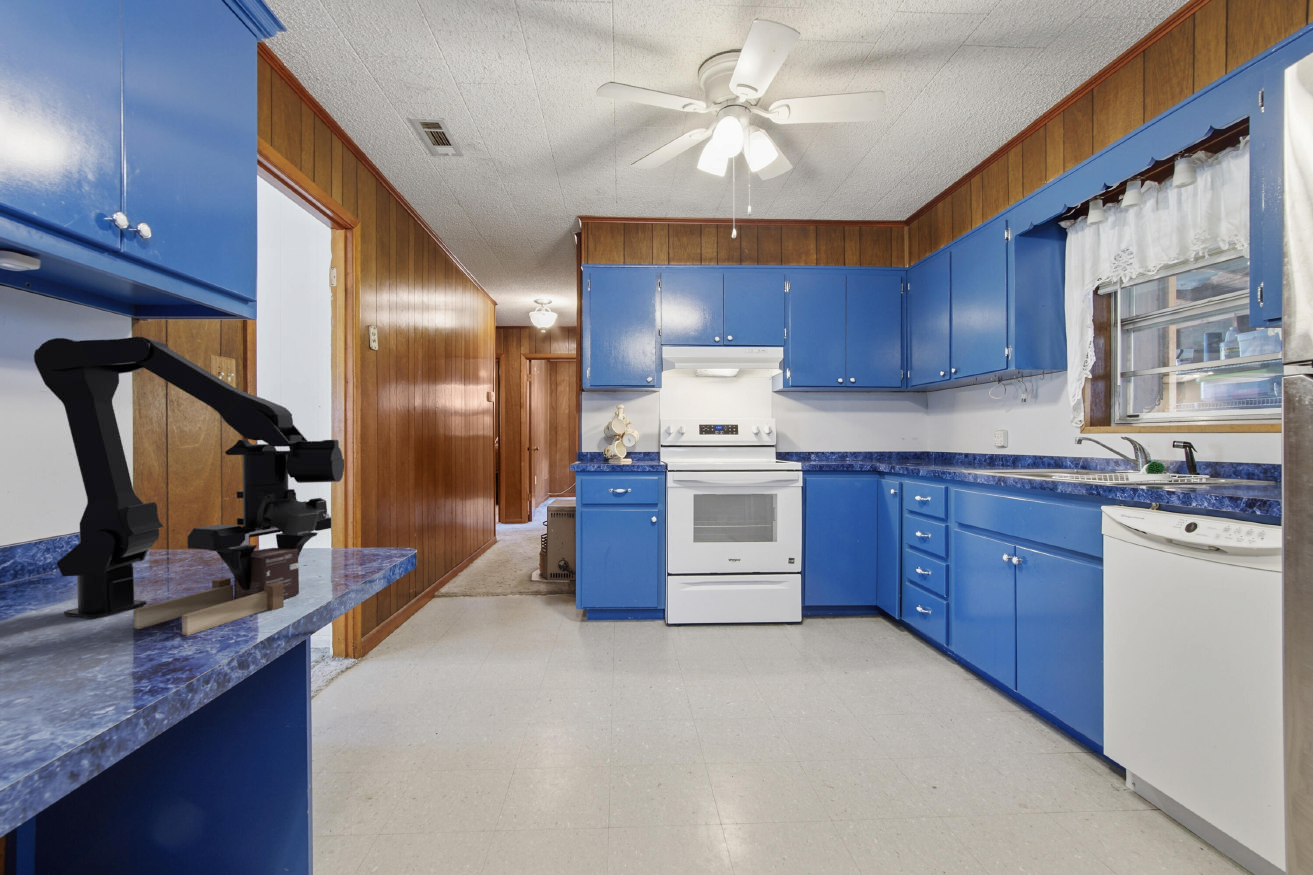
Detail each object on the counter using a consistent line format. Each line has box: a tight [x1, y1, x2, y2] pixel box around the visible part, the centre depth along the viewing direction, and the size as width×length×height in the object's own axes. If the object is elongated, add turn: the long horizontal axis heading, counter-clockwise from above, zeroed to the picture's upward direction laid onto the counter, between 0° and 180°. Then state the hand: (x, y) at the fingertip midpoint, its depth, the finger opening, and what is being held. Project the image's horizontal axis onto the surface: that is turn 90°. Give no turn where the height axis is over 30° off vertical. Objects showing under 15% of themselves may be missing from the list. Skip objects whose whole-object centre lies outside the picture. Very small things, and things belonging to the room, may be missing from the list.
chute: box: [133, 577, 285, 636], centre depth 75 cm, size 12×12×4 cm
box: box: [233, 547, 300, 600], centre depth 83 cm, size 6×6×7 cm
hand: (267, 583), depth 83 cm, fingers closed on box, 6 cm apart
